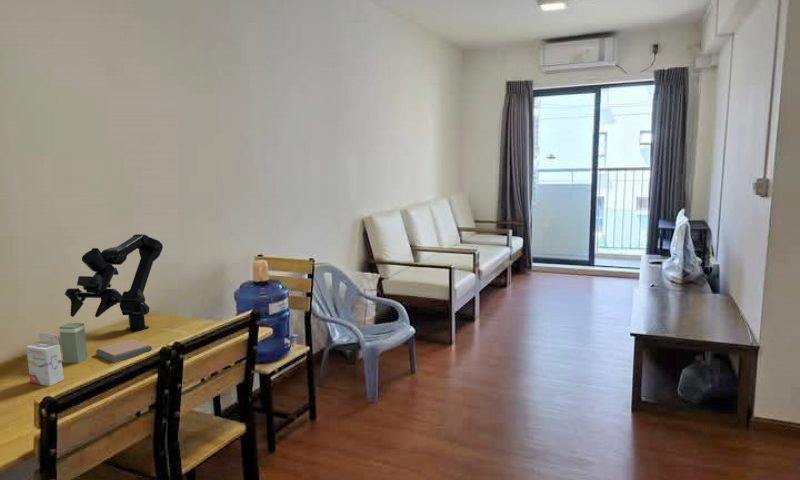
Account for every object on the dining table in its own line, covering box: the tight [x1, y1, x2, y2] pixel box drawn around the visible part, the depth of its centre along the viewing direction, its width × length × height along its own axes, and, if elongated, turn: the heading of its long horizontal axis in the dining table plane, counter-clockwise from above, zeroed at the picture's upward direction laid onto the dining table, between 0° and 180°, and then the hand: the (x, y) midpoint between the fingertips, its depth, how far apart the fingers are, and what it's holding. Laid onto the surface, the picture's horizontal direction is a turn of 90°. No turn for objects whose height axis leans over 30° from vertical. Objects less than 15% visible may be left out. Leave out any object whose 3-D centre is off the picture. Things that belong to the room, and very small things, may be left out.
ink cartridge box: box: [25, 332, 65, 387], centre depth 160 cm, size 9×5×15 cm, turn 71°
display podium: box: [95, 338, 153, 364], centre depth 185 cm, size 13×13×2 cm
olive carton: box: [59, 322, 89, 364], centre depth 178 cm, size 6×5×12 cm
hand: (83, 316), depth 182 cm, fingers open, 9 cm apart
